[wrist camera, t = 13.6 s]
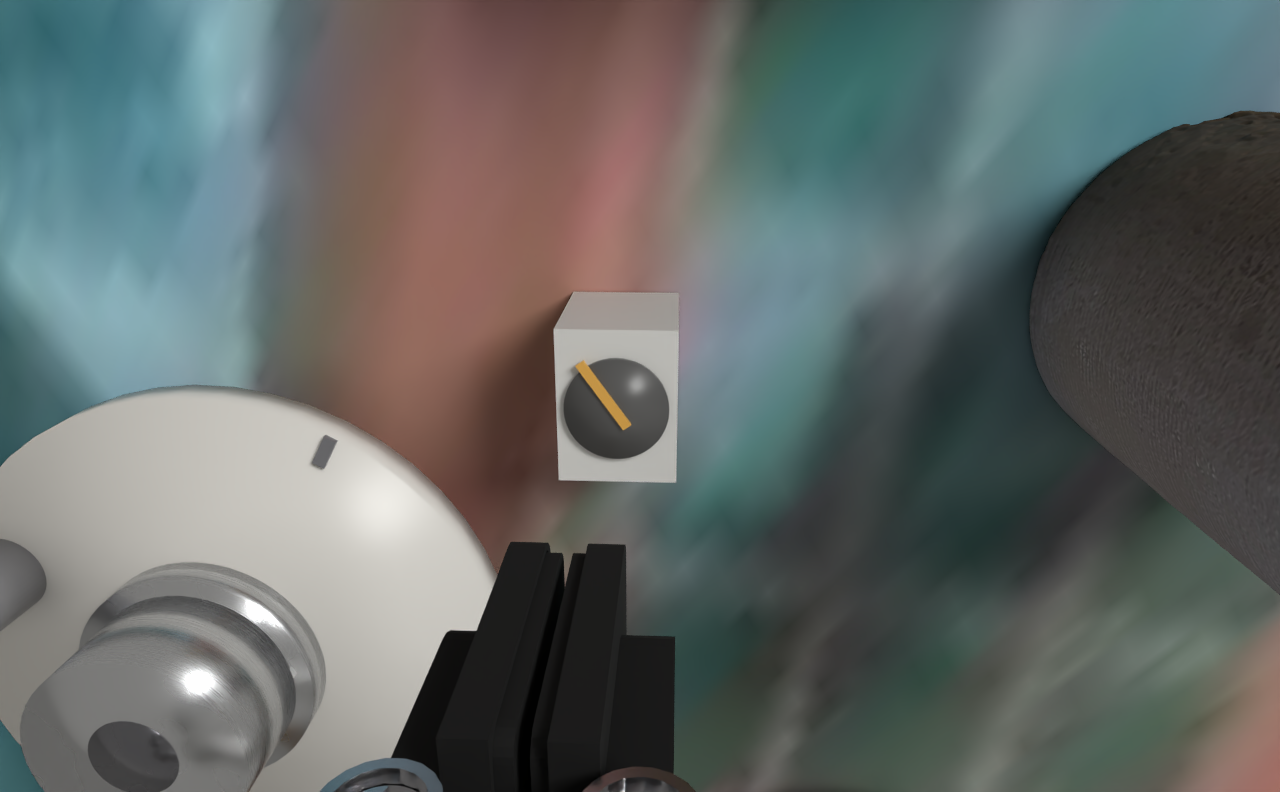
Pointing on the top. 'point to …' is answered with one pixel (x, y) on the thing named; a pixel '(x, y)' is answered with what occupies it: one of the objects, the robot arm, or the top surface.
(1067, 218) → the pillar candle
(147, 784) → the door knob
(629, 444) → the dial gauge
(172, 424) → the white disc with knobs
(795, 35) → the top surface
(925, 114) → the top surface
